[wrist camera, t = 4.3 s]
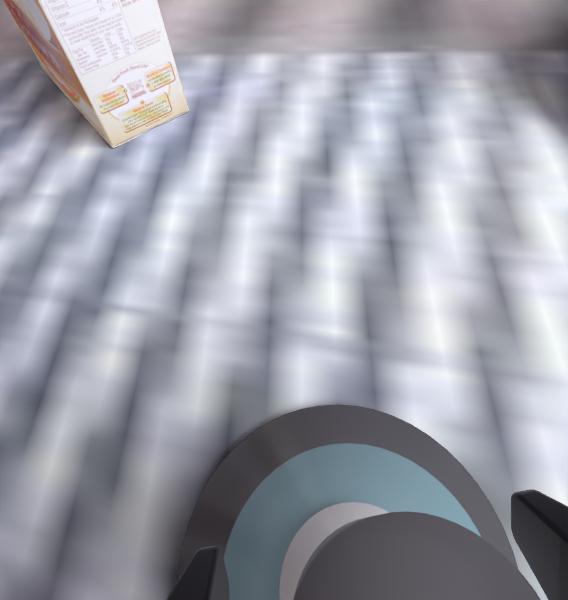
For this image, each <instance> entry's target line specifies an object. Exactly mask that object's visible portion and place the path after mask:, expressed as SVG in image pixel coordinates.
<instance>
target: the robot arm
mask: <svg viewBox="0 0 568 600" xmlns="http://www.w3.org/2000/svg"><path fill="white" fill-rule="evenodd" d="M511 529H512V533H513V536H514V539H515V541H516V543H517V544H518V546H519V548H520V550H521V552H522V553H523V555H524V557H525V559H526V560H527V562H528V564H529V566H530V568H531V569H532V571H533V573H534V575H535V576H536V578H537V580H538V582H539V584H540V585H541V587H542V589H543V591H544V593H545V594H546V596H547V598H548V600H568V506H566V505H564V504H562V503H560V502H558V501H556V500H554V499H552V498H550V497H548V496H546V495H545V494H543V493H541V492H539V491H536V490H526V491H520V492H515V493H513V495H512V497H511ZM166 600H229V581H228V576H227V571H226V567H225V563H224V558H223V554H222V550H221V548H220V547H219V546H210V547H205V548H200V549H199V550H197V551H196V553H195V554H194V556H193V558H192V559H191V561H190V562H189V564H188V566H187V567H186V569H185V570H184V572H183V574H182V575H181V577H180V578H179V580H178V582H177V583H176V585H175V586H174V588H173V590H172V591H171V593H170V594H169V596H168V598H167V599H166Z"/></svg>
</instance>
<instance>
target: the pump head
mask: <svg viewBox="0 0 568 600" xmlns="http://www.w3.org/2000/svg"><path fill="white" fill-rule="evenodd" d="M293 600H540V598H539V597H538V595H537V593H536V592H535V590H534V589H533V588H532V586H531V585H530V584H529V583H528V581H527V580H526V579H525V578H524V576H523V575H522V574H521V572H520V571H519V570H518V569H517V568H516V567H515V566H514V565H513V564H512V563H511V562H510V561H509V560H508V559H507V558H506V557H505V556H504V555H503V554H502V553H501V552H500V551H498V550H497V549H496V548H495V547H494V546H492V545H491V544H490V543H489V542H487V541H486V540H484V539H483V538H482V537H480V536H479V535H477V534H476V533H474V532H473V531H471V530H469V529H467V528H465V527H463V526H461V525H459V524H457V523H455V522H452V521H450V520H447V519H444V518H442V517H439V516H434V515H430V514H426V513H419V512H408V511H406V512H390V513H385V514H380V515H375V516H371V517H366V518H362V519H358V520H355V521H352V522H350V523H347V524H345V525H343V526H342V527H340V528H338V529H336V530H335V531H334V532H333V533H331V534H330V535H329V536H327V537H326V538H325V539H324V540H323V541H322V542H321V543H320V545H319V546H318V547H317V548H316V550H315V551H314V552H313V554H312V555H311V556H310V558H309V560H308V562H307V563H306V565H305V567H304V569H303V571H302V574H301V576H300V579H299V581H298V584H297V588H296V591H295V595H294V599H293Z"/></svg>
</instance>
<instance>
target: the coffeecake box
mask: <svg viewBox="0 0 568 600" xmlns="http://www.w3.org/2000/svg"><path fill="white" fill-rule="evenodd" d="M4 2H5V3H6V5H7V7H8V9H9V10H10V12H11V14H12V15H13V17H14V19H15V21H16V22H17V24H18V26H19V28H20V29H21V31H22V33H23V35H24V36H25V38H26V40H27V42H28V43H29V45H30V47H31V48H32V50H33V52H34V54H35V56H36V58H37V59H38V61H39V63H40V66H41V67H42V69H43V70H44V71H45V72H46V73H47V75H48V76H49V77H50V78H51V79H52V81H53V82H54V83H55V84H56V85H57V86H58V87H59V89H60V90H61V91H62V92H63V93H64V94H65V95H66V97H67V98H68V99H69V100H70V101H71V102H72V103H73V105H74V106H75V107H76V108H77V109H78V110H79V111H80V112H81V114H82V115H83V116H84V117H85V118H86V119H87V120H88V121H89V123H90V124H91V125H92V126H93V127H94V128H95V129H96V130H97V132H98V133H99V134H100V135H101V136H102V137H103V138H104V139H105V141H106V142H107V143H108V144H109V145H110V146H111V147H112V148H115V147H118V146H120V145H122V144H124V143H126V142H128V141H130V140H132V139H134V138H136V137H138V136H140V135H141V134H143V133H145V132H147V131H148V130H150V129H152V128H154V127H156V126H159V125H161V124H163V123H166V122H168V121H170V120H172V119H174V118H176V117H178V116H180V115H182V114H184V113H186V112H188V111H189V109H188V106H187V102H186V99H185V95H184V92H183V88H182V85H181V81H180V78H179V75H178V71H177V68H176V64H175V61H174V57H173V54H172V51H171V47H170V44H169V40H168V37H167V33H166V30H165V26H164V23H163V20H162V16H161V13H160V9H159V6H158V2H157V0H4Z"/></svg>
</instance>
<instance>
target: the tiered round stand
mask: <svg viewBox="0 0 568 600" xmlns="http://www.w3.org/2000/svg"><path fill="white" fill-rule="evenodd" d="M406 511H408V512H419V513H426V514H430V515H434V516H439V517H442V518H444V519H447V520H450V521H452V522H455V523H457V524H459V525H461V526H463V527H465V528H467V529H469V530H471V531H473V532H474V533H476V534H477V535H479V536H480V537H482V538H483V539H484V540H486V541H487V542H489V543H490V544H491V545H492V546H494V547H495V548H496V549H497V550H498V551H500V552H501V553H502V554H503V555H504V556H505V557H506V558H507V559H508V560H509V561H510V562H511V563H512V564H513V565H514V566H515V567H516V568H517V569H518V567H517V564H516V560H515V556H514V553H513V550H512V548H511V545H510V543H509V540H508V538H507V535H506V533H505V530H504V528H503V526H502V524H501V522H500V520H499V518H498V516H497V514H496V512H495V511H494V509H493V507H492V505H491V503H490V502H489V500H488V499H487V497H486V496H485V494H484V493H483V491H482V490H481V488H480V487H479V485H478V484H477V482H476V481H475V480H474V479H473V477H472V476H471V475H470V474H469V473H468V471H467V470H466V469H465V468H464V466H463V465H462V464H461V463H460V462H459V461H458V460H457V459H456V458H455V457H454V456H453V455H452V454H451V453H450V452H449V451H448V450H447V449H445V448H444V447H443V446H442V445H440V444H439V443H438V442H436V441H435V440H434V439H433V438H431V437H430V436H429V435H427V434H426V433H424V432H422V431H421V430H419V429H418V428H416V427H414V426H413V425H411V424H409V423H407V422H405V421H403V420H401V419H398V418H396V417H394V416H392V415H389V414H386V413H383V412H380V411H377V410H373V409H368V408H363V407H358V406H348V405H325V406H316V407H310V408H305V409H301V410H298V411H295V412H292V413H289V414H286V415H283V416H281V417H279V418H277V419H275V420H273V421H271V422H268V423H267V424H265V425H264V426H262V427H260V428H259V429H257V430H256V431H254V432H253V433H251V434H250V435H249V436H248V437H247V438H245V439H244V440H243V441H242V442H241V443H240V444H238V445H237V446H236V447H235V448H234V449H233V450H232V451H231V453H230V454H229V455H228V456H227V457H226V458H225V459H224V460H223V461H222V463H221V464H220V465H219V467H218V468H217V469H216V471H215V472H214V474H213V475H212V476H211V478H210V479H209V481H208V483H207V485H206V486H205V488H204V490H203V492H202V494H201V495H200V497H199V499H198V502H197V504H196V506H195V509H194V511H193V514H192V516H191V518H190V521H189V524H188V528H187V531H186V534H185V538H184V541H183V545H182V550H181V556H180V561H179V567H178V576H177V582H178V580H179V578H180V577H181V575H182V574H183V572H184V570H185V569H186V567H187V566H188V564H189V562H190V561H191V559H192V558H193V556H194V554H195V553H196V551H197V550H199V549H200V548H205V547H210V546H219V547H220V548H221V550H222V554H223V558H224V563H225V567H226V571H227V576H228V581H229V600H293V599H294V595H295V591H296V588H297V584H298V581H299V579H300V576H301V574H302V571H303V569H304V567H305V565H306V563H307V562H308V560H309V558H310V556H311V555H312V554H313V552H314V551H315V550H316V548H317V547H318V546H319V545H320V543H321V542H322V541H323V540H324V539H325V538H326V537H327V536H329V535H330V534H331V533H333V532H334V531H335V530H336V529H338V528H340V527H342V526H343V525H345V524H347V523H350V522H352V521H355V520H358V519H362V518H366V517H371V516H375V515H380V514H385V513H390V512H406Z"/></svg>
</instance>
